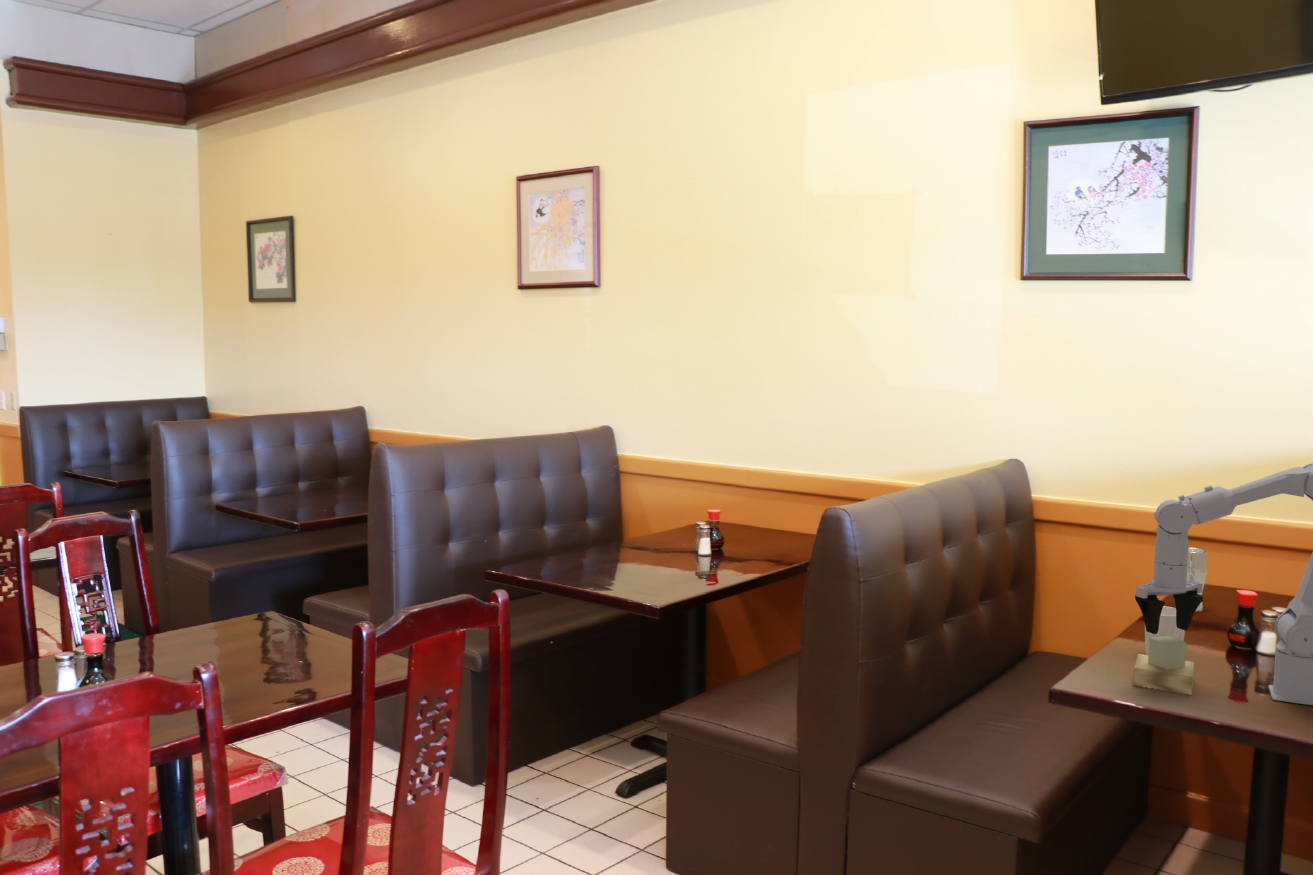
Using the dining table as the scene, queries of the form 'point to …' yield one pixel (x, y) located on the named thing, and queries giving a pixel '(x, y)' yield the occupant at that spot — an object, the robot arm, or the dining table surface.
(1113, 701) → the dining table surface
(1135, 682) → the bamboo box
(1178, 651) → the sage block
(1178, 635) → the white cup
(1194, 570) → the beer glass
